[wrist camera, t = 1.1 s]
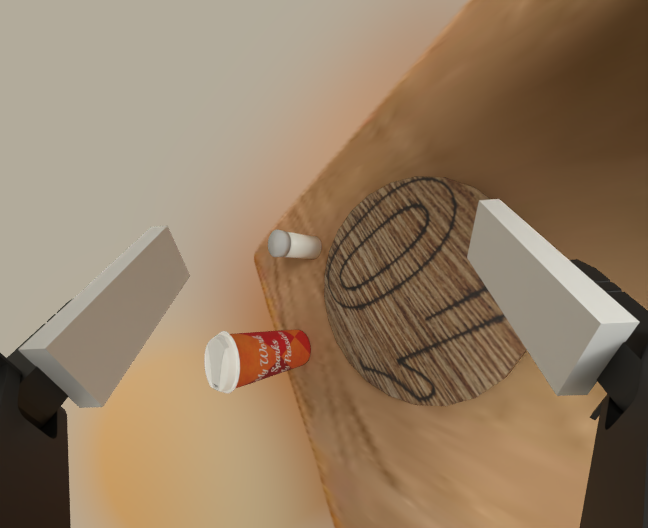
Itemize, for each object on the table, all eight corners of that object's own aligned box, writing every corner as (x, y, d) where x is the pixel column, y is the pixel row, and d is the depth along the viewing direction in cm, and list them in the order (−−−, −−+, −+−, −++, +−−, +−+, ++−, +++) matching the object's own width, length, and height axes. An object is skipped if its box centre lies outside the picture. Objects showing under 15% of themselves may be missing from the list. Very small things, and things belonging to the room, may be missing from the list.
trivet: (625, 326, 22) (625, 329, 21) (393, 433, 35) (384, 439, 34) (429, 135, 34) (421, 129, 32) (310, 269, 47) (301, 269, 46)
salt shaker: (311, 231, 47) (273, 225, 42) (325, 242, 44) (287, 237, 39) (302, 252, 48) (265, 248, 43) (315, 264, 46) (277, 261, 41)
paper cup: (316, 376, 44) (229, 402, 35) (284, 367, 50) (202, 388, 40) (314, 323, 45) (229, 334, 35) (284, 321, 51) (202, 330, 41)
